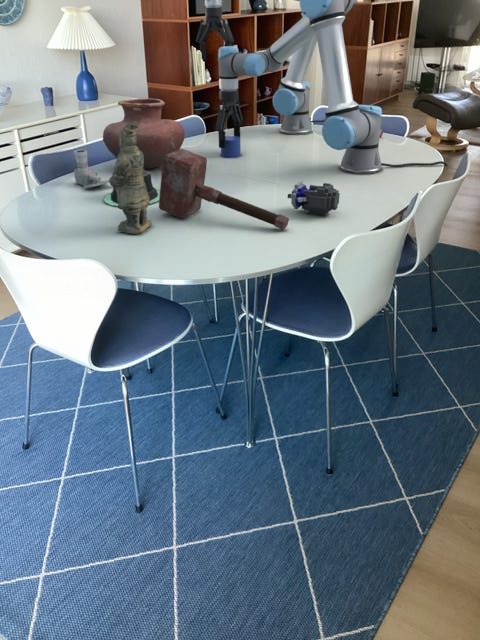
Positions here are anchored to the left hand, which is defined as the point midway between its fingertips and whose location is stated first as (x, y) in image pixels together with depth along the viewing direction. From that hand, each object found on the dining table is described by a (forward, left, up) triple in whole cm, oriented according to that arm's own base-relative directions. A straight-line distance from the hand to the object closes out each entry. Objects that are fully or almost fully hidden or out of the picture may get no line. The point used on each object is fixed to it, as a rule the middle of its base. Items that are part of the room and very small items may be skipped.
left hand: (215, 59), depth 256 cm
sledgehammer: (+97, +77, -33) cm, 128 cm away
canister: (+33, +32, -33) cm, 56 cm away
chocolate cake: (+96, +38, -33) cm, 108 cm away
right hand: (+33, +32, -28) cm, 53 cm away
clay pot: (+65, +15, -33) cm, 74 cm away
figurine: (-17, +70, -33) cm, 79 cm away
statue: (+117, +59, -33) cm, 135 cm away
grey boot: (+94, +15, -33) cm, 101 cm away
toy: (+77, +96, -33) cm, 127 cm away
